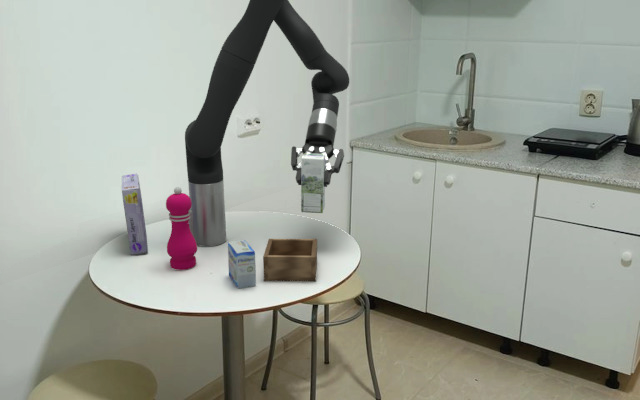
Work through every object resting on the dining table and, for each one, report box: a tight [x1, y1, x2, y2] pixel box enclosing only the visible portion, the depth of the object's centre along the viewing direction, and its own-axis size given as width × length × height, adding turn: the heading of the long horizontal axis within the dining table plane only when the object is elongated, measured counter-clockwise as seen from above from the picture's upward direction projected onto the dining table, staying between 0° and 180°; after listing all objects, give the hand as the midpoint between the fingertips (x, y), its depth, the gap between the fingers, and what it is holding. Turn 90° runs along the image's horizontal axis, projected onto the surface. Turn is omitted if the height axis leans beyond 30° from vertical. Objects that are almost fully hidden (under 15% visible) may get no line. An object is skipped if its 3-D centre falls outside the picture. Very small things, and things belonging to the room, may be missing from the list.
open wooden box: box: [262, 238, 318, 282], centre depth 141 cm, size 12×12×6 cm
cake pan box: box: [121, 173, 149, 255], centre depth 158 cm, size 19×5×18 cm, turn 18°
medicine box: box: [227, 239, 257, 289], centre depth 135 cm, size 8×4×9 cm, turn 23°
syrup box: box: [300, 153, 326, 214], centre depth 150 cm, size 6×6×14 cm
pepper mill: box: [165, 186, 198, 271], centre depth 142 cm, size 7×7×20 cm
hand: (312, 184), depth 148 cm, fingers closed on syrup box, 6 cm apart
